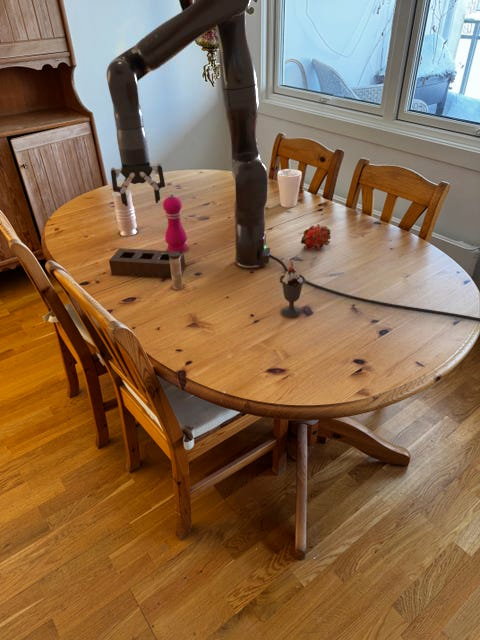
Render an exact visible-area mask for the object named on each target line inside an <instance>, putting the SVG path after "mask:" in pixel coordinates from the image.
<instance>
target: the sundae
mask: <svg viewBox="0 0 480 640" xmlns="http://www.w3.org/2000/svg"><path fill="white" fill-rule="evenodd" d="M289 262H290V267H288V270H289V271H287V272H285V273H284V274H282V275H280V277H279V283H280V284H282V291H283V297H284V299H285V300H286V301H287V302H288V306H286V307H284V308H283V309H282V310H281V314H282V315H283V316H284V317H287V318H296V317H298V316H300V315H301V310H300V309H299V308H297V307H295V304H294V303H296V302H297V301H298V300H299V299H300V296H301V293H302V290H303V289H302V288H303V285H304V284H306V283H305V281H307V280H306V278H305V276H303V275H302V274H300V273H299V272H298V271H297V269H296V270H295V267H294V265H293V262H292V259H291V258H289Z"/></svg>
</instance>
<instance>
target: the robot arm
mask: <svg viewBox="0 0 480 640" xmlns="http://www.w3.org/2000/svg"><path fill="white" fill-rule="evenodd" d="M251 1H252V0H196V1H194V2H193V3H192V4H191V5H189V6H188V7H186V8H185V9H184V10H183V11H180V12H179V13H177V14H176V15H174V16H172V17H171V18H169V19H167V20H166V21H164V22H163V23H161V24H159V26H157V27H156V28H154V29H153V30H152V31H150V32H149V33H148V34H146V35H145V36H144V37H142V38H141V39H139V41H137V42H136V44H135V45H133V46H132V47H130V48H129V49H126V50H125V51H124V52H122V53H121V54H119V55H118V56H116V57H115V58H114V59H112V60H111V61H110V62H109V64H108V66H107V68H106V81H107V87H108V91H109V95H110V99H111V103H112V107H113V108H112V110H113V116H114V122H115V123H114V124H115V129H116V141H117V147H118V151H119V159H120V164H121V167H120V168H115V167H111V168H110V177H111V184H112V185H111V186H112V192H119V193H120V194H121V199H122V203H123V204H125V206H128V202H127V197H126V190H128V188H129V186H130V184H132V185H137V184H145V183H147V184H149V186H151V187H152V188H153V193H154V201H155V204H159V202H160V201H161V195H160V190H161V189H162V188H165V187H166V182H165V176H164V171H163V166H162V164H161V163H157V164H156V165H151V162H150V155H149V148H148V139H147V132H146V130H145V126H144V118H143V113H142V108H141V105H140V97H139V89H138V82H139V81H140V80H141V79H143V78H144V77H145V76H146V75H148V74H149V73H150V72H154V71H156V70H158V69H160V68H161V67H162V66H164V65H165V64H166V63H167V62H169V61H171V60H172V59H173V58H174V57H176V56H177V55H178V54H179V53H181V52H182V51H184V49H186V48H187V47H188V46H189V45H191V44H192V43H194V41H196V40H198V39H199V38H200V37H201V36H203V35H204V34H206V33H207V32H209V31H211V30H212V29H214V28H215V30H216V36H217V43H218V44H217V45H218V59H219V60H218V62H219V74H220V84H221V87H220V88H221V94H222V102H223V107H224V113H225V118H226V123H227V127H228V133H229V136H230V137H229V138H230V150H231V151H230V152H231V153H230V154H231V175H232V178H233V179H234V184H235V185H234V186H235V187H234V188H235V201H234V203H233V206H234V207H233V208H234V210H233V211H234V239H235V264H236V266H237V267H239V268H241V269H245V270H246V269H247V270H254V269H260V268H264V267H265V264H269V263H270V259H271V260H274V261H275V262H277V263H279V264H280V266H281V267H282V268H283V270H284V271H285V273H287V271H289V268H288V267H287V266H286V264H285V263H284V262H283V261H282V260H281V259H279V258H277V257H276V256H274V255H272V254H271V248H270V247H267V232H266V205H267V201H268V177H269V176H268V170H267V168H266V166H265V164H264V163H263V161H262V160H261V157H260V153H259V145H258V141H257V124H258V116H259V115H258V114H259V93H258V91H259V90H258V83H257V82H258V80H257V75H256V70H255V69H256V68H255V66H254V62H253V57H252V54H251V50H250V46H249V43H248V36H247V23H246V22H247V21H246V11H247V9H248V8H249V6H250V4H251ZM153 171H154V173H155V174H157V175H158V179H159V182H156V180H155V179H154V178H153V177H152V176H151V175H152V173H153ZM120 174H121V175H122V176H123V177H124V180H123V181H122V184H121V185H120V186H119V185H118V179H117V178H119V177H120ZM304 284H306V285H308V286H310V287H313V288H316V289H318V290H320V291H321V290H322V291H324V292H328V293H330V294H333V295H336V296H340V297H344V298H348V299H351V300H356V301H359V302H363V303H368V304H373V305H379V306H383V307H390V308H394V309H395V308H396V309H401V310H407V311H413V312H414V311H415V312H420V313H427V314H433V315H440V316H445V317H453V318H458V319H465V320H470V321H475V322H480V317H477V316H470V315H466V314H460V313H454V312H447V311H440V310H433V309H427V308H420V307H416V306H415V307H414V306H409V305H408V306H407V305H401V304H396V303H390V302H384V301H379V300H374V299H368V298H364V297H360V296H355V295H351V294H348V293H343V292H340V291H337V290H334V289H330V288H328V287H325V286H321V285H318V284H315V283H313V282H310V281H309V280H306V281H305V283H304Z"/></svg>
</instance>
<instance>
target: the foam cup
mask: <svg viewBox="0 0 480 640" xmlns="http://www.w3.org/2000/svg"><path fill="white" fill-rule="evenodd" d="M302 175H303V174H302V171H301V170H299V169H293V168H284V169H280V170H279V171H277V181H278V192H279V202H280V206H281V207H283V208H294V207H296V206H297V201H298V197H299V191H300V186H301V181H302Z"/></svg>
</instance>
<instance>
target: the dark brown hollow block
mask: <svg viewBox="0 0 480 640" xmlns="http://www.w3.org/2000/svg"><path fill="white" fill-rule="evenodd" d="M170 252H173V251H168V250H160V249H143V248H142V249H140V248H122V247H121V248H118V249H117V251H116V252H114V254H113V255H112V257H110V259H108V264H109V268H110V273H111V276H122V277H123V276H124V277H139V278H153V279H170V280H172V276H171V268H170V260H169V255H168V254H169V253H170ZM177 252H179V253H180V263H181V272H182V273H183V270H184V269H185V268H186V261H185V252H180V251H177Z"/></svg>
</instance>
